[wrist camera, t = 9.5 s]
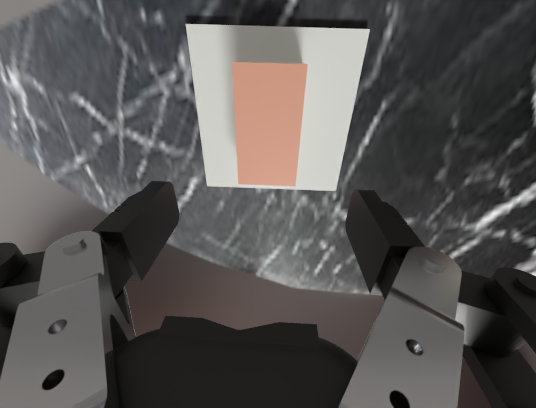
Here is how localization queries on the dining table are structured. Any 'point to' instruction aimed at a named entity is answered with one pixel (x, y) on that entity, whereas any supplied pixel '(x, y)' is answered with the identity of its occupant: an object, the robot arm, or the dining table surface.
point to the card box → (268, 120)
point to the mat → (315, 100)
